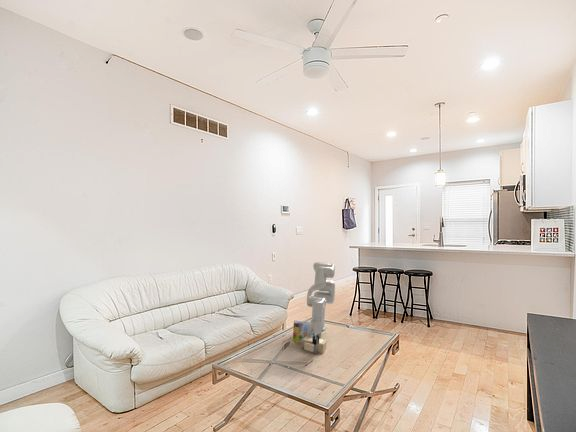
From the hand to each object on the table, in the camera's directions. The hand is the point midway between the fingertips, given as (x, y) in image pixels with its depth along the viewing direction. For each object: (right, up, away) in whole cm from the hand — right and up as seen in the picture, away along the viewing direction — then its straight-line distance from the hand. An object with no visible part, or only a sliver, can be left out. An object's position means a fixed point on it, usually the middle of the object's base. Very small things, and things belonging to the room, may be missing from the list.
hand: (315, 343), depth 223 cm
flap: (-4, -7, +3) cm, 9 cm away
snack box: (-5, -7, +19) cm, 21 cm away
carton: (0, -7, +8) cm, 11 cm away
